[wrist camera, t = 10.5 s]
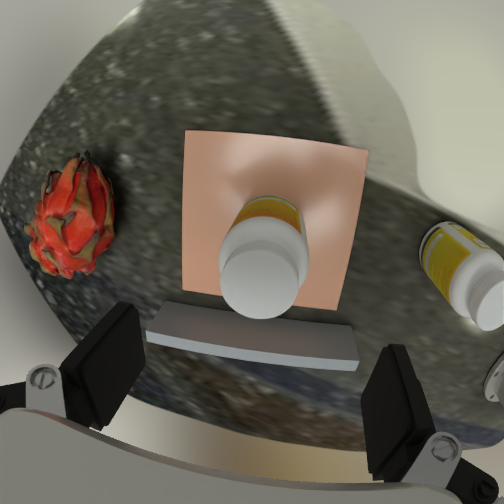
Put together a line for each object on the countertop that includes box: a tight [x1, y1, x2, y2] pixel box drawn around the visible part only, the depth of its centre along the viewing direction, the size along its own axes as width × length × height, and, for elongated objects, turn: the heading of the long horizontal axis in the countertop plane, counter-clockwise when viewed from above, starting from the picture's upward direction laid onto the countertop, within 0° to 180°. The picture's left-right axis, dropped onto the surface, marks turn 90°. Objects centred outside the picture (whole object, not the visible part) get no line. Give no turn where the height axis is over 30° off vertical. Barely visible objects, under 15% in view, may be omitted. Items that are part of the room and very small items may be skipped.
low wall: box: [146, 301, 359, 371], centre depth 26 cm, size 18×1×5 cm, turn 85°
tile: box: [182, 130, 369, 310], centre depth 24 cm, size 14×14×1 cm
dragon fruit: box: [24, 150, 116, 279], centre depth 23 cm, size 8×8×12 cm
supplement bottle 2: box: [419, 222, 504, 331], centre depth 19 cm, size 5×5×10 cm
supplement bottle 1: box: [218, 195, 309, 319], centre depth 19 cm, size 5×5×10 cm
